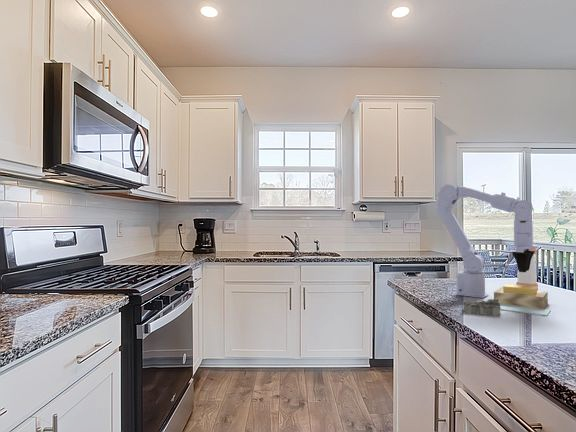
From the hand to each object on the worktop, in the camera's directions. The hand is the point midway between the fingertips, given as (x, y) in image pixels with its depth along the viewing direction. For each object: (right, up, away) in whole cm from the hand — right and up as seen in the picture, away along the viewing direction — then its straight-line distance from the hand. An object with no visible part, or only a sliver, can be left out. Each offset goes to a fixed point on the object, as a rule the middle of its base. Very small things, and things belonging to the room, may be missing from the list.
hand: (523, 271), depth 133 cm
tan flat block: (-5, -10, -5) cm, 13 cm away
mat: (-11, -10, -13) cm, 20 cm away
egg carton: (-24, -11, -16) cm, 31 cm away
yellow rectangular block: (-5, -6, -6) cm, 10 cm away
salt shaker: (+12, -11, +16) cm, 23 cm away
